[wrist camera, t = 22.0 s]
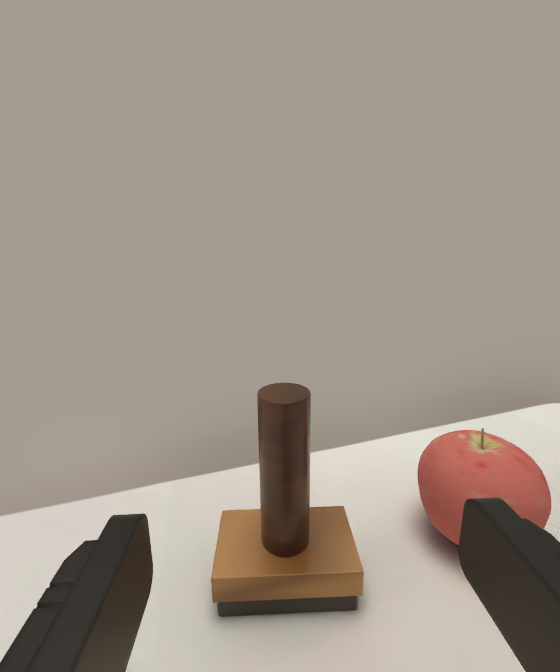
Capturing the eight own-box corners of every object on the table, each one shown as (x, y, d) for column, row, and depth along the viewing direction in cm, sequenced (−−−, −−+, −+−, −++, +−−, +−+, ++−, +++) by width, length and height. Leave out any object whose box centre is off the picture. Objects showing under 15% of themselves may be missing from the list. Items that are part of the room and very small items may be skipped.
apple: (397, 502, 28) (404, 408, 26) (488, 497, 28) (501, 404, 26) (446, 590, 21) (461, 468, 19) (566, 581, 21) (593, 461, 19)
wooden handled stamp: (213, 620, 19) (199, 415, 16) (224, 545, 24) (214, 377, 21) (361, 613, 19) (372, 410, 17) (342, 540, 24) (348, 374, 21)
